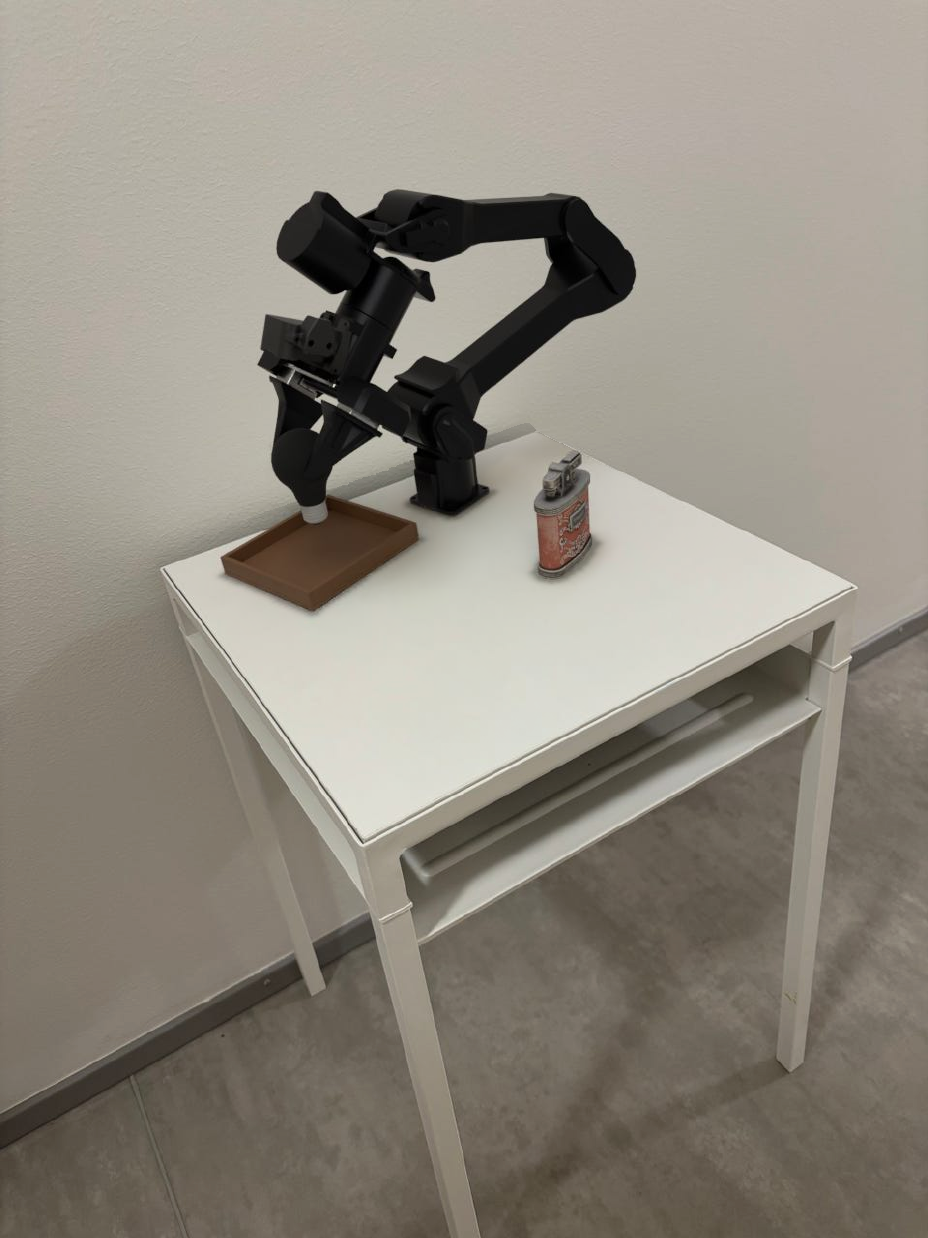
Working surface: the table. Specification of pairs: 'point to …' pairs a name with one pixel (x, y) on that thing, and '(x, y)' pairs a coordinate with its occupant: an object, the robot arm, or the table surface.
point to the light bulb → (300, 472)
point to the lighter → (563, 517)
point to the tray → (320, 552)
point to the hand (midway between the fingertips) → (291, 469)
